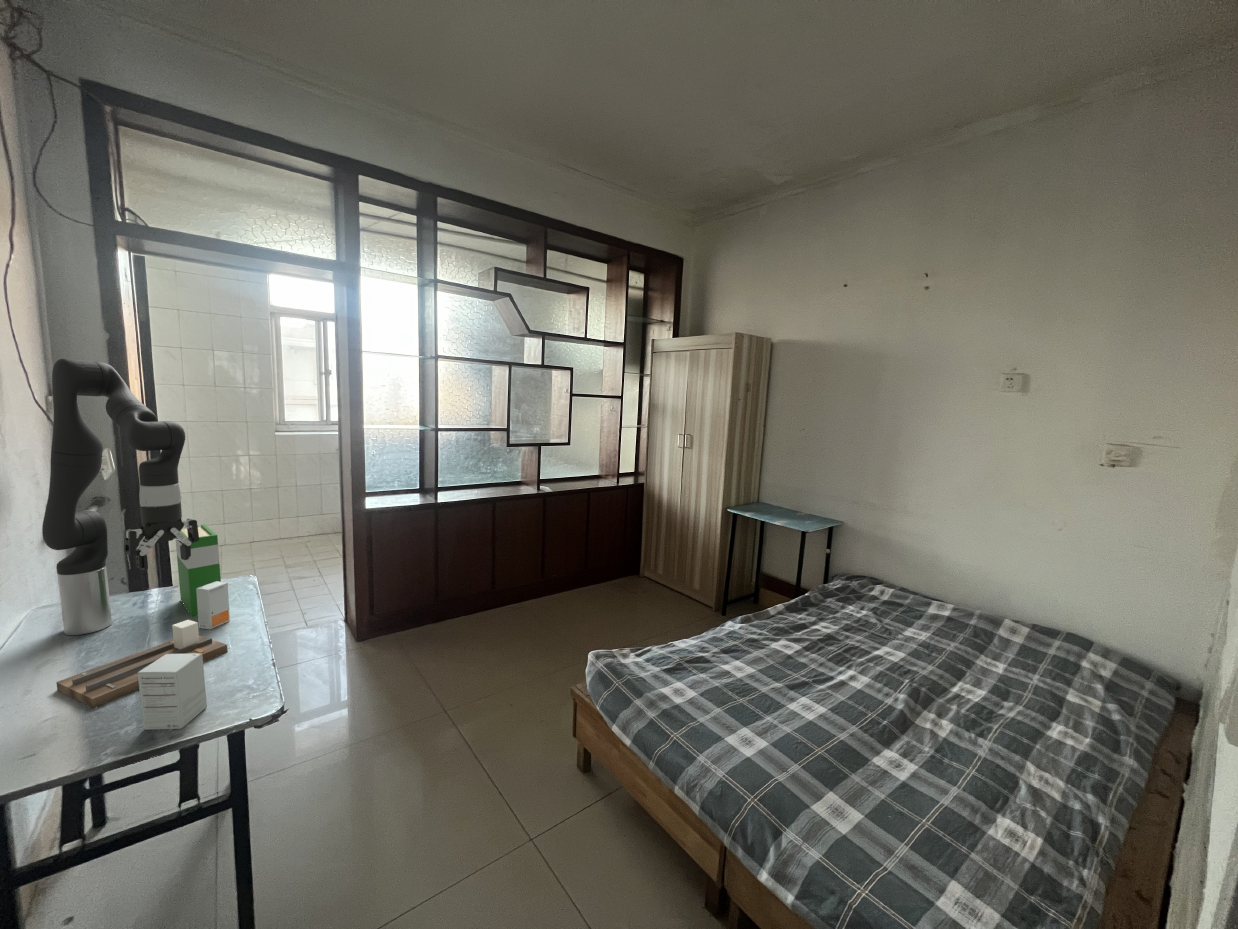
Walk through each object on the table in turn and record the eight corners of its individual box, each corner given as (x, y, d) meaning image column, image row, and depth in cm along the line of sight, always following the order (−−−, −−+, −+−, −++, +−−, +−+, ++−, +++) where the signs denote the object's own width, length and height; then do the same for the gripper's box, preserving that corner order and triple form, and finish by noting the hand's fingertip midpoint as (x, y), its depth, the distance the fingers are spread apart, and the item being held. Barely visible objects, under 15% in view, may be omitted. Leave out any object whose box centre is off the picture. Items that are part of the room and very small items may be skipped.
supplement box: (171, 708, 106) (166, 652, 104) (208, 707, 107) (203, 652, 105) (141, 730, 99) (135, 672, 97) (181, 729, 100) (176, 671, 98)
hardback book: (180, 600, 159) (174, 528, 156) (210, 594, 165) (204, 524, 162) (191, 617, 148) (185, 539, 145) (222, 609, 153) (217, 535, 150)
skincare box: (210, 630, 140) (207, 590, 139) (198, 628, 141) (195, 588, 140) (231, 621, 146) (228, 582, 145) (219, 619, 147) (216, 580, 145)
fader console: (57, 690, 111) (55, 677, 110) (192, 639, 135) (191, 628, 134) (93, 707, 105) (91, 693, 105) (227, 651, 129) (226, 640, 129)
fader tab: (174, 647, 126) (172, 625, 125) (190, 641, 129) (188, 619, 129) (183, 650, 125) (181, 628, 124) (199, 644, 128) (197, 622, 127)
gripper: (185, 495, 131) (188, 554, 133) (114, 504, 117) (119, 570, 120) (203, 499, 128) (206, 559, 130) (132, 509, 115) (137, 576, 117)
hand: (164, 564), depth 125 cm, fingers open, 8 cm apart
